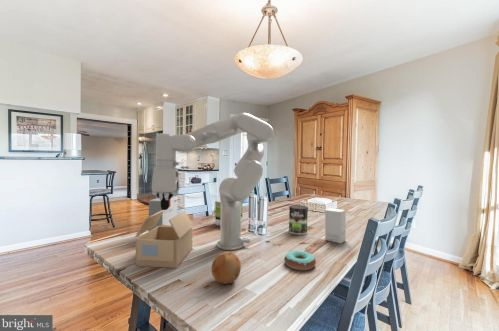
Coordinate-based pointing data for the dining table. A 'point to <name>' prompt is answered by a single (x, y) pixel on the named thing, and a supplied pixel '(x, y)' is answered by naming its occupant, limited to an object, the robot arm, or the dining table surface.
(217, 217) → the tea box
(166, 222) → the hard drive box
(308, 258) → the donut
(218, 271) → the onion
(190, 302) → the dining table surface
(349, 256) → the dining table surface
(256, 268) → the dining table surface
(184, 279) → the dining table surface
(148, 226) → the flap
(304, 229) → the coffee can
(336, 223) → the skincare box
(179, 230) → the flap
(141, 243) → the carton
